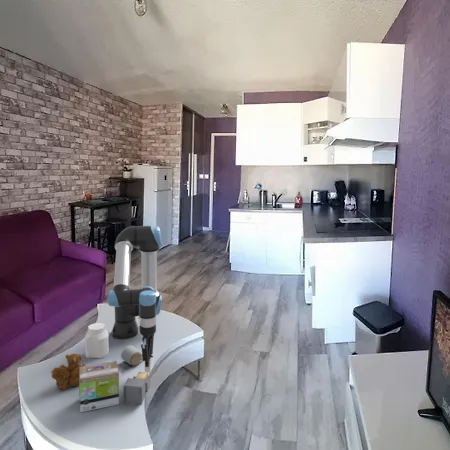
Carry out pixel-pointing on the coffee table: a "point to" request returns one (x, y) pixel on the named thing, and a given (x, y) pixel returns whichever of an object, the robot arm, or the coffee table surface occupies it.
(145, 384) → the gray bracket pieces
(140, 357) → the ceramic mug
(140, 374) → the tan rectangular block
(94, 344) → the jar
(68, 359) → the stuffed squirrel
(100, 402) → the tea box
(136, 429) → the coffee table surface
